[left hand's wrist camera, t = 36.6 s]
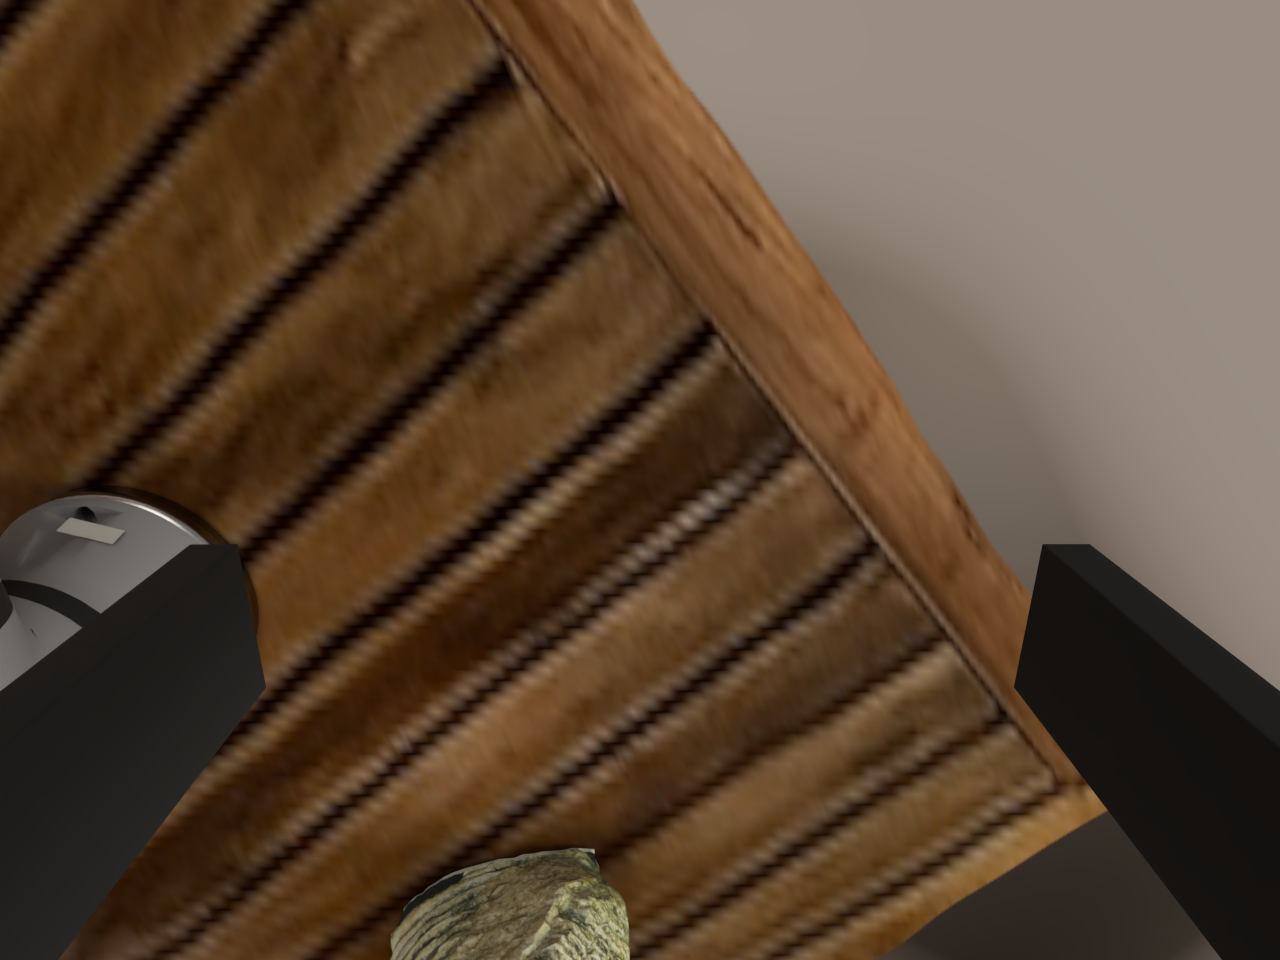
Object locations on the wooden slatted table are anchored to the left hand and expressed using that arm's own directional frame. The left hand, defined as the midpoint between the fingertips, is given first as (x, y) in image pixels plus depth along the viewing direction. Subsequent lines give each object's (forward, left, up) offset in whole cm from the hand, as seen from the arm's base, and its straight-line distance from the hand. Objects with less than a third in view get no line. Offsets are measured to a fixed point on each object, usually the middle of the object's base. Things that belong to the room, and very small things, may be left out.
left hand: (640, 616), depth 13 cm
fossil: (-36, -24, -32) cm, 53 cm away
